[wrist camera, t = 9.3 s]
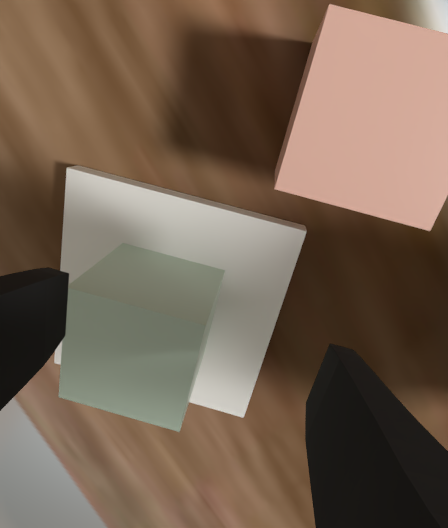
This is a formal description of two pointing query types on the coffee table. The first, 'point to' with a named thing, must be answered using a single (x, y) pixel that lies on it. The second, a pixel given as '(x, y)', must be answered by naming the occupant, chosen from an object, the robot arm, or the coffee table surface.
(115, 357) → the brick bottom
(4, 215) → the coffee table surface
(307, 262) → the coffee table surface
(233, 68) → the coffee table surface
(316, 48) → the brick top
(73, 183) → the base plate
